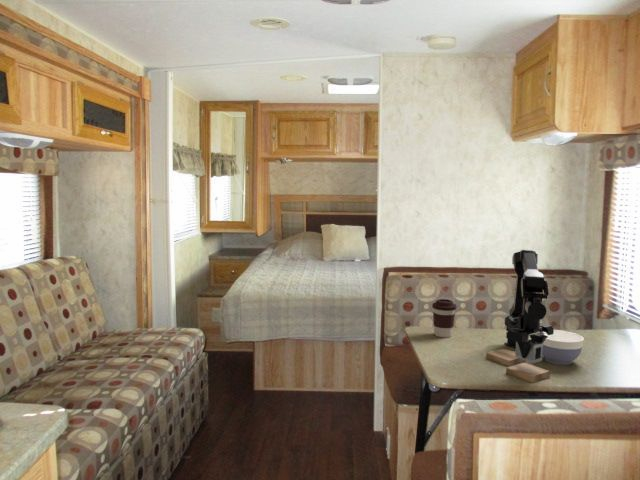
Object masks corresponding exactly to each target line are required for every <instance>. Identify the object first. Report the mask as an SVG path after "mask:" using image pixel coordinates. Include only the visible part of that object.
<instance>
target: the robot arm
mask: <svg viewBox="0 0 640 480" xmlns="http://www.w3.org/2000/svg"><path fill="white" fill-rule="evenodd" d="M538 256H539V255H538V253H536V250H533V249H520V251H517V252H514V253H513V254H512V257H511V258H512V259H511V261H512V265H513V268H514V272H515V273H516V279H515V290H514V296H513V297H514V301H513V306H512V307H511V308H510V309H509V310H508V314H507V316H505V319H504V329H505V331H506V333H505V334H506V335H505V336H506V337H505V339H507V340H506V342H504V345H506V346H510V347H512V348H514V349H516V342H517V343H518V345H519V348H520V352H521V355H522V358H526V356H527V353H528V351H529V348H530V345H531V342H532V341H531V340H534V341H537V342H540V343H543V342H544V341H545V339H546V338H547V337H548V336H545V335H544V332H546V333H547V335H552V334H553V332H554V330H555V329H554V327H553V325H549V324H546V323H543V322H541V320H543V319H544V318H545V317H546V315H547V308H546V306H545V305H544V303H543V300H544V299H545V300H547V299H548V296H549V294H550V292H549V283H548V282H547V279H545V276H544V274H543V273H542V272H540V271H539V268H538V258H539V257H538ZM529 339H530V340H529Z"/></svg>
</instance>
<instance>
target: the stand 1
mask: <svg viewBox="0 0 640 480" xmlns="http://www.w3.org/2000/svg"><path fill="white" fill-rule="evenodd" d="M515 352H516V351H512V350H510V349H506V348H500V349H497V350H493V351H489V352H486V354H485V355H486V356H485V357H486V359H488V360H490V361H493V362H497V363H499V364H502V365H504V366H506V367H510V366H514V365H517V364H521V363H526V361H525V360H522V359H519V358H516V357H515Z"/></svg>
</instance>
